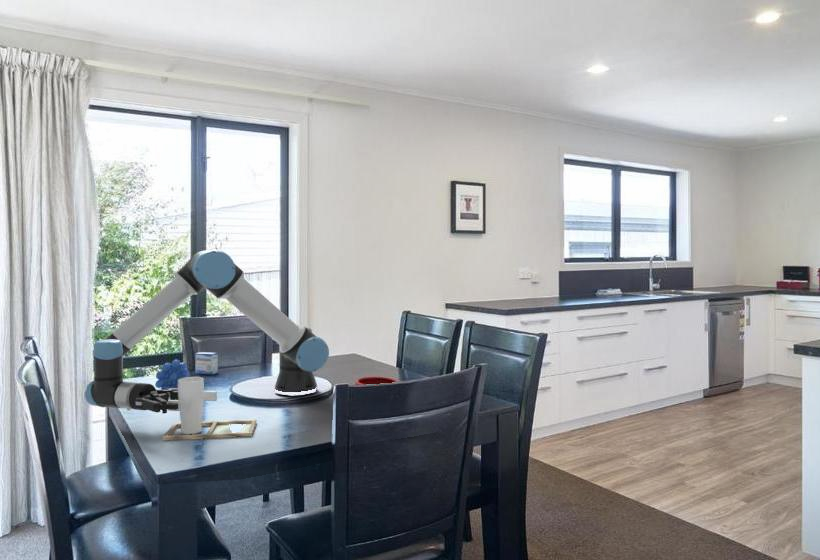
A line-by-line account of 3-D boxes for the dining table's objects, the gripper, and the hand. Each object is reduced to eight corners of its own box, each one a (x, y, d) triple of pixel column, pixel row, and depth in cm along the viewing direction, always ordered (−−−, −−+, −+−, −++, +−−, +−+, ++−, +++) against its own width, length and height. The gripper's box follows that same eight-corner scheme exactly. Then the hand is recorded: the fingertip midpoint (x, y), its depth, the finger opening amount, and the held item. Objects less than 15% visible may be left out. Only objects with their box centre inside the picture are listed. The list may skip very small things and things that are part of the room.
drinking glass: (209, 430, 161) (208, 377, 161) (193, 437, 155) (192, 382, 154) (189, 427, 163) (189, 375, 163) (172, 434, 157) (172, 380, 156)
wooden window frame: (256, 422, 168) (256, 419, 168) (251, 436, 156) (251, 432, 156) (174, 426, 164) (174, 423, 164) (162, 440, 152) (162, 437, 152)
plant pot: (363, 428, 163) (363, 386, 163) (349, 416, 175) (349, 377, 175) (405, 423, 169) (405, 382, 168) (389, 411, 181) (389, 374, 180)
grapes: (186, 388, 212) (186, 356, 211) (191, 392, 206) (191, 359, 206) (152, 393, 205) (152, 359, 204) (156, 396, 199) (156, 362, 199)
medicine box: (195, 374, 238) (194, 353, 238) (200, 371, 243) (200, 351, 242) (212, 374, 237) (212, 353, 237) (218, 372, 242) (217, 352, 241)
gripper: (164, 399, 175) (227, 404, 169) (105, 420, 152) (175, 427, 146) (164, 375, 175) (227, 379, 169) (104, 392, 152) (175, 398, 146)
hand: (203, 401), depth 158 cm, fingers open, 11 cm apart
